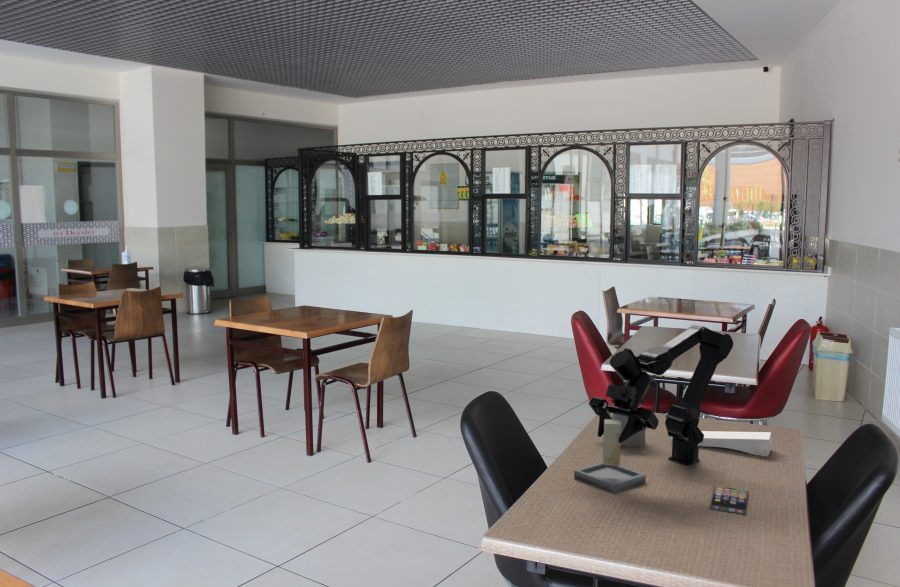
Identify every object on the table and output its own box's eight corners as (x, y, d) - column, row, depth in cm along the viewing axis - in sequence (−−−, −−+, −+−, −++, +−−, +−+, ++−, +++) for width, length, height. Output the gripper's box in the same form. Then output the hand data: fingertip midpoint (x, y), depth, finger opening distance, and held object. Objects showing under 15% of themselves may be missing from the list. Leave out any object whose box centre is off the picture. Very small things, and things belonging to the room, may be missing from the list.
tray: (574, 477, 190) (574, 470, 190) (606, 468, 198) (606, 461, 198) (612, 492, 180) (613, 485, 180) (645, 482, 188) (645, 474, 187)
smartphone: (709, 511, 171) (709, 506, 171) (714, 490, 184) (714, 485, 184) (745, 517, 167) (746, 512, 167) (748, 495, 181) (748, 490, 181)
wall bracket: (673, 460, 223) (771, 464, 210) (669, 440, 221) (769, 442, 208) (677, 444, 231) (772, 447, 218) (674, 424, 230) (770, 425, 217)
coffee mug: (646, 439, 225) (647, 408, 224) (643, 448, 216) (644, 415, 215) (603, 434, 230) (604, 403, 229) (598, 443, 221) (599, 411, 220)
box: (619, 466, 185) (621, 424, 184) (602, 465, 186) (604, 423, 185) (619, 460, 191) (620, 419, 189) (602, 458, 191) (604, 418, 190)
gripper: (593, 367, 195) (567, 414, 189) (654, 379, 182) (628, 430, 175) (609, 391, 202) (584, 437, 195) (669, 404, 188) (644, 454, 182)
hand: (609, 439), depth 187 cm, fingers closed on box, 6 cm apart
